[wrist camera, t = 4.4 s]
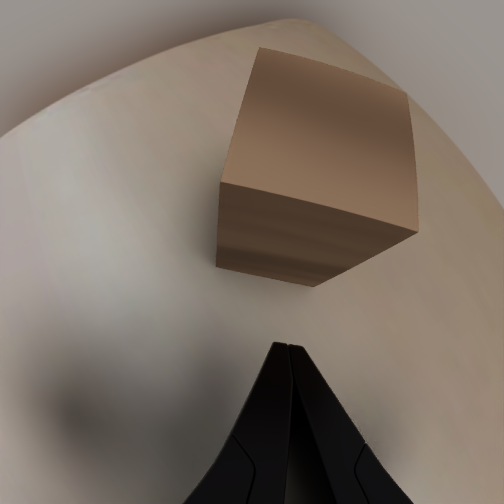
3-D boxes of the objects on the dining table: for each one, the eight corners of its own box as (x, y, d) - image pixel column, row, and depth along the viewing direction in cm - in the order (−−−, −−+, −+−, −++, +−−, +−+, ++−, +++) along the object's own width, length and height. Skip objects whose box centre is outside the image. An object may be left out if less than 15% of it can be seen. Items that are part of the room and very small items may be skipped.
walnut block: (313, 287, 16) (418, 232, 7) (215, 266, 15) (220, 181, 7) (324, 198, 17) (406, 93, 9) (236, 177, 17) (259, 47, 8)
